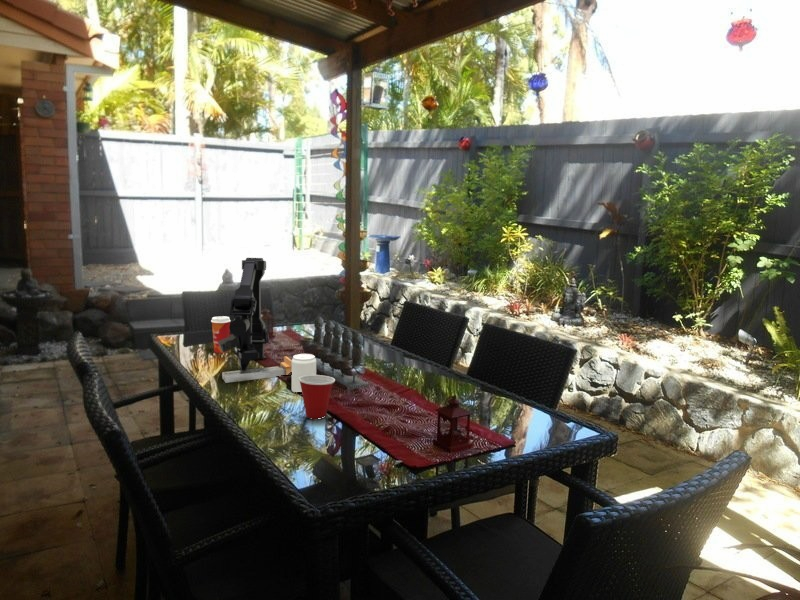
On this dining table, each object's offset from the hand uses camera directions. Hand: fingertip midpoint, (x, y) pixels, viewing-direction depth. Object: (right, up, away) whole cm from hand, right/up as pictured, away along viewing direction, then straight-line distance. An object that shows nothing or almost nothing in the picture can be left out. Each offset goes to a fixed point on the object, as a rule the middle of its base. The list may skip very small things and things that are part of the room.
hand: (243, 372), depth 232 cm
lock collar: (+15, -1, +5) cm, 15 cm away
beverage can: (+24, -5, -14) cm, 28 cm away
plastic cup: (+31, -9, -37) cm, 50 cm away
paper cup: (-17, +4, +33) cm, 37 cm away
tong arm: (+3, -1, 0) cm, 3 cm away
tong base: (+5, -2, -1) cm, 5 cm away
